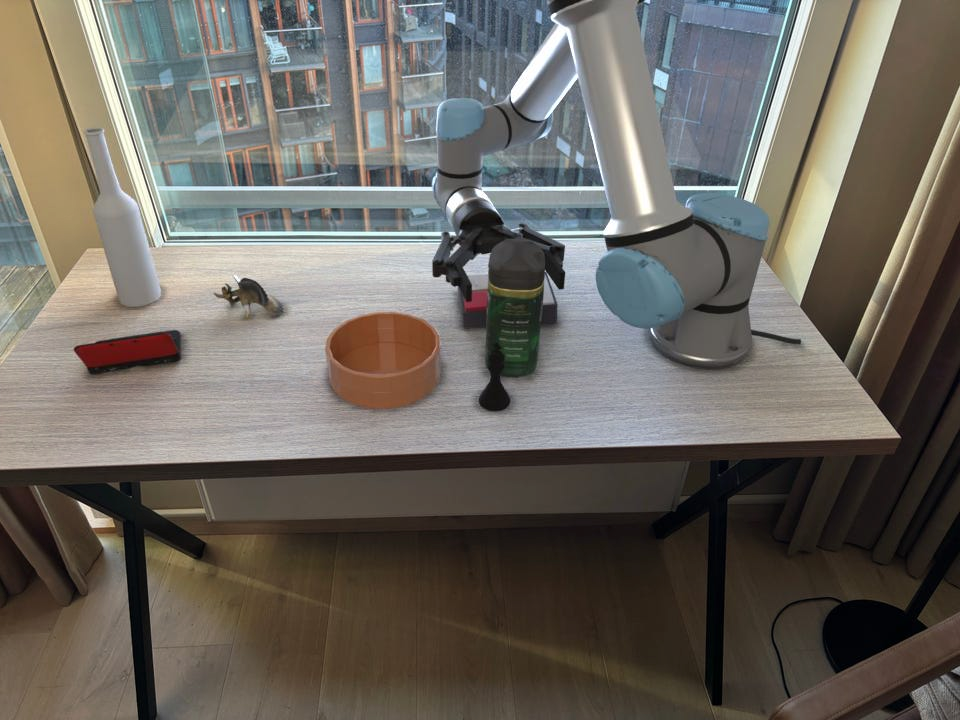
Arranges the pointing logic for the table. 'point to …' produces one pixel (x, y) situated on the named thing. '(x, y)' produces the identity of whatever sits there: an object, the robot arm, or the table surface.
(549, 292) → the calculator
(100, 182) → the bottle
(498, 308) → the coffee jar
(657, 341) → the robot arm
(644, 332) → the table surface
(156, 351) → the handheld console
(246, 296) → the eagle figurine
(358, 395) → the pot
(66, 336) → the table surface
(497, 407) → the chess piece
